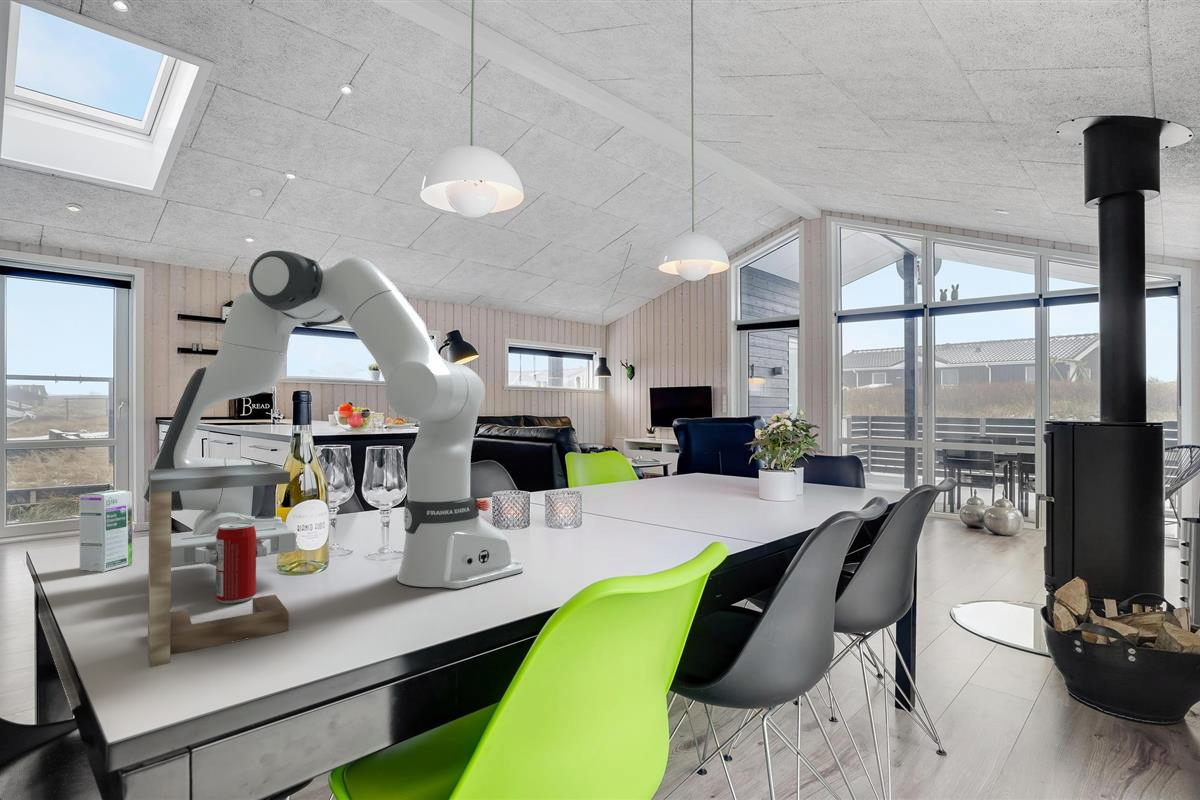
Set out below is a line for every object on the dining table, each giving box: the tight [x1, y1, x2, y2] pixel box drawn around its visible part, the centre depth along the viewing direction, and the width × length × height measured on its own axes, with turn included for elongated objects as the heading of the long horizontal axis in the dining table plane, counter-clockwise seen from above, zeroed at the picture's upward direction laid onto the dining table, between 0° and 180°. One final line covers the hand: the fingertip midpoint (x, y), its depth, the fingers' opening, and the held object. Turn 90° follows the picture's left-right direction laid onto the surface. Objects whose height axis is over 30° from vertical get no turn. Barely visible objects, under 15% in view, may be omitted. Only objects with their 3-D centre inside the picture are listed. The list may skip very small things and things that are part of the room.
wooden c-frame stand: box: [147, 463, 291, 668], centre depth 83 cm, size 15×15×22 cm
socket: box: [170, 594, 290, 655], centre depth 84 cm, size 14×10×2 cm
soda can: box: [215, 522, 257, 604], centre depth 98 cm, size 6×6×12 cm
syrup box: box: [78, 489, 133, 573], centre depth 117 cm, size 6×6×14 cm
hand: (237, 554), depth 97 cm, fingers closed on soda can, 5 cm apart
